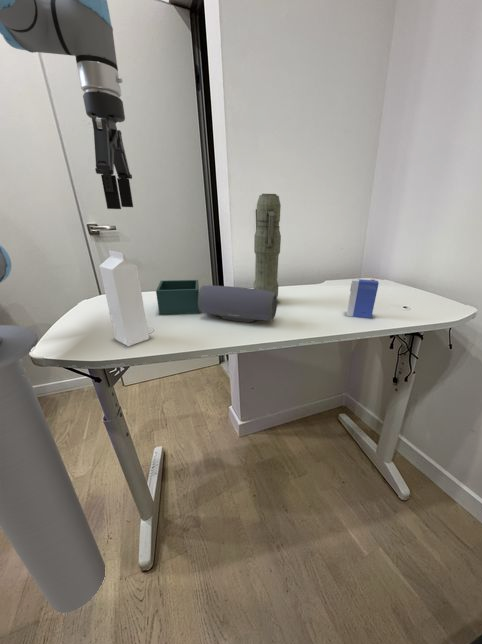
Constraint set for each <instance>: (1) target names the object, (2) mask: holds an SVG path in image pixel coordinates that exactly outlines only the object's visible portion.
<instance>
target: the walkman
mask: <svg viewBox="0 0 482 644" xmlns="http://www.w3.org/2000/svg"><path fill="white" fill-rule="evenodd" d="M379 284H380V283H379V281H378V280H376V279H374V278H372V279H361V278H360V279H359V278H353V279H352V280H351V283H350V290H349V291H350V292H349V298H348V305H347V310H346V317H354V318H365V319H366V318H367V319H372V317H373V312H374V309H375V308H374V307H375V302H376V298H377V293H378V288H379Z"/></svg>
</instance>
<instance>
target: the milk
mask: <svg viewBox="0 0 482 644" xmlns="http://www.w3.org/2000/svg"><path fill="white" fill-rule="evenodd" d="M108 254H109V257H107V258H106V259H105V260H104V261H103V262H102V263H100V265H99V271H100V276H101V280H102V285H103V289H104V292H105V293H104V294H105V299H106V303H107V307H108V311H109V316H110V320H111V324H112V329H113V332H114V337H115V341H118V342H119V343H121V344H123V345H125V346H127V347H130V346H133V345H136V344H138V343H142V342H144V341H147V340H150V335H149V328H148V324H147V318H146V311H145V305H144V299H143V293H142V287H141V282H140V275H139V270H138V265H136V264H133V263H132V262H130V261H128V260H125V258H124V254H123V252H120V251H116V250H111V249H109V250H108Z"/></svg>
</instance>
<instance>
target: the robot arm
mask: <svg viewBox="0 0 482 644" xmlns="http://www.w3.org/2000/svg"><path fill="white" fill-rule="evenodd" d="M0 35H2V37H3V39H4V41H5V43H7V45H9V46H10V47H12V48H13V49H17V50H21V51H25V52H29V53H33V54H34V53H42V54H53V55H61V56H62V55H64V56H71V57H72V56H73V57H75V62H76V68H77V73H78V78H79V83H80V89H81V91H82V92H84V93H83V95H82V98H83V103H84V104H83V105H84V109H85V113H86V116H87V117H89V118H90V119H91V122H92V129H93V140H94V156H95V167H94V169H95V174H97V175H100V177H101V181H102V182H101V183H102V187H103V192H104V193H103V194H104V198H105V205H106V209H107V210H122V208H134V204H133V196H132V189H131V183H130V180H132V179H133V175H132V174H131V172H130V168H129V164H128V159H127V155H126V151H125V147H124V142H123V136H122V135H123V134H122V132H121V130H120V129H118V128H117V123H123V122H125V120H126V115H125V109H124V101H123V100H122V99H121V96H122V90H121V85H120V84H122V83H123V79H122V77H121V76H119V75H120V74H119V68H118V61H117V54H116V46H115V38H114V27H113V26H112V19H111V16H110V9H109V5H108V0H0ZM114 170H115V171H116V175H117V176H116V175H115V173H114V172H115V171H114ZM11 271H12V261H11V258H10V255H9V253H8V252H7V250H6V249H5V248H4V247H3V245H1V244H0V283H2V282H4V281H5V280H7V279H8V277H9V276H10V274H11ZM1 343H2V338H1V336H0V344H1Z"/></svg>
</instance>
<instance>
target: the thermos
mask: <svg viewBox="0 0 482 644" xmlns="http://www.w3.org/2000/svg"><path fill="white" fill-rule="evenodd" d="M281 206H282V205H281V201H280V196H279V195H278V194H277V193H261V194H259V196H258V199H257V202H256V229H255V232H254V244H253V248H254V249H253V251H254V254H255V264H254V265H255V266H254V267H255V269H254V270H255V271H254V281H253V289H258V290H265V291H271V292H275V293H276V296H277V297H278V296H279V282H278V274H279V273H278V272H279V255H280V253H281V245H282V244H281V243H282V242H281V241H282V235H281V230H280V229H281V228H280V222H281Z"/></svg>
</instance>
